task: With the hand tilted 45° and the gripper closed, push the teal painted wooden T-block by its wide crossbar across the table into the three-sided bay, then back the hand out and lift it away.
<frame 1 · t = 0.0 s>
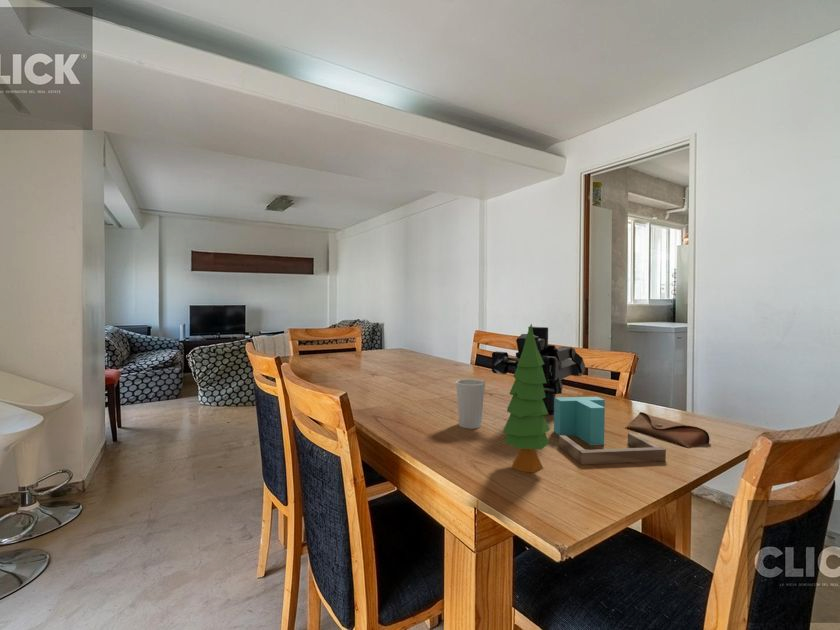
hand: (510, 369, 103), 17 cm above the table, tool horizontal, fingers open, 9 cm apart
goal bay: (602, 448, 92), on the table
cup: (470, 425, 110), on the table
decorative tree: (523, 466, 83), on the table
sunglasses case: (663, 437, 102), on the table
t block: (585, 437, 100), on the table
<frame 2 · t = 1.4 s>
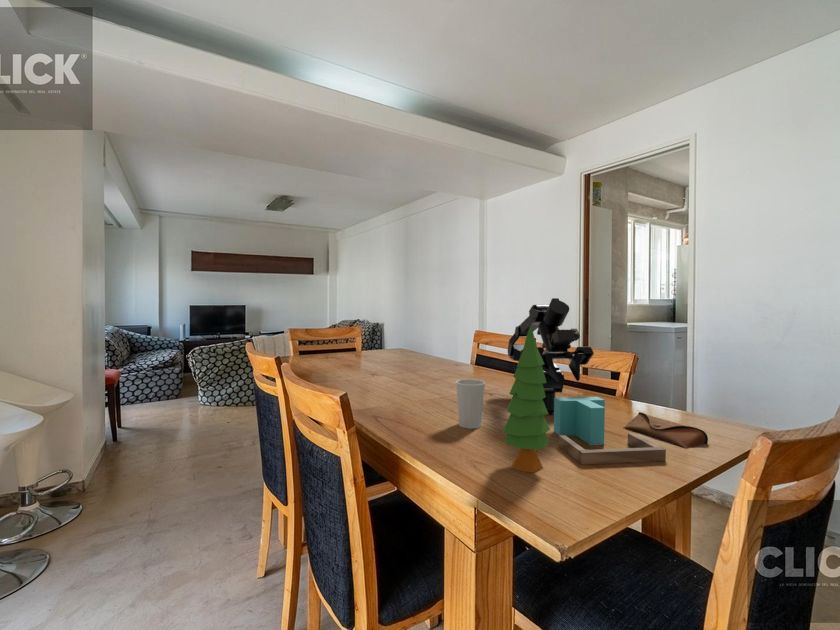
hand: (568, 380, 109), 13 cm above the table, tool tilted 45°, fingers open, 6 cm apart
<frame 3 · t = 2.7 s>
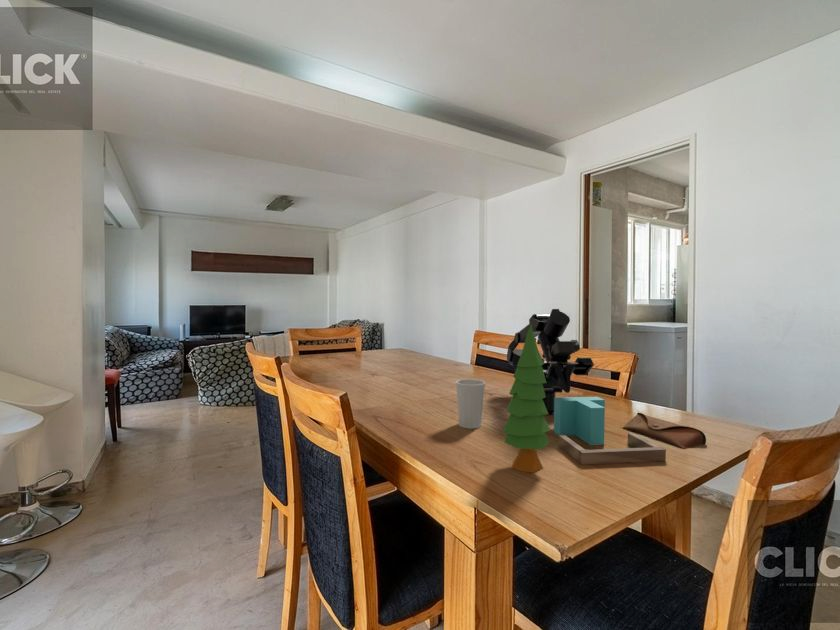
hand: (568, 392, 109), 9 cm above the table, tool tilted 45°, fingers closed
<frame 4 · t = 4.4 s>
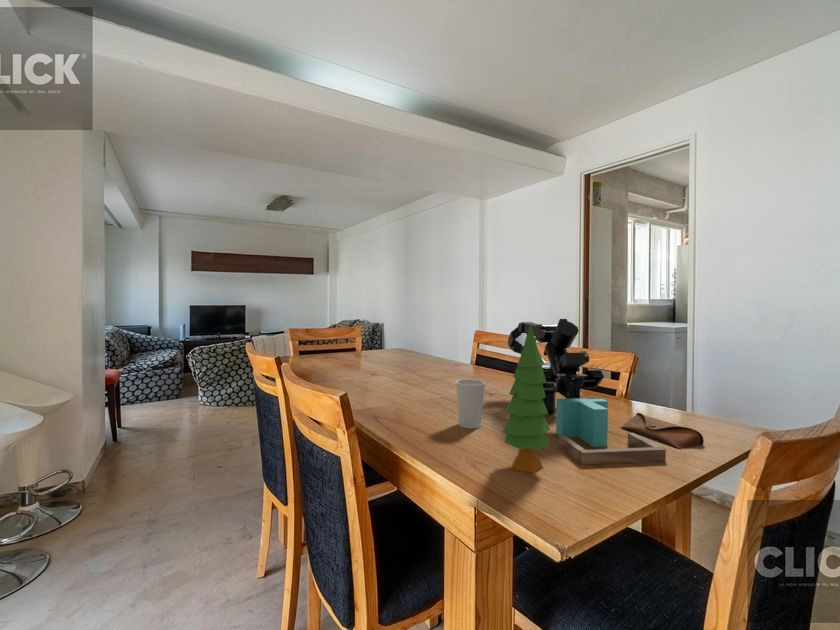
hand: (577, 406, 104), 7 cm above the table, tool tilted 45°, fingers closed
t block: (588, 439, 99), on the table
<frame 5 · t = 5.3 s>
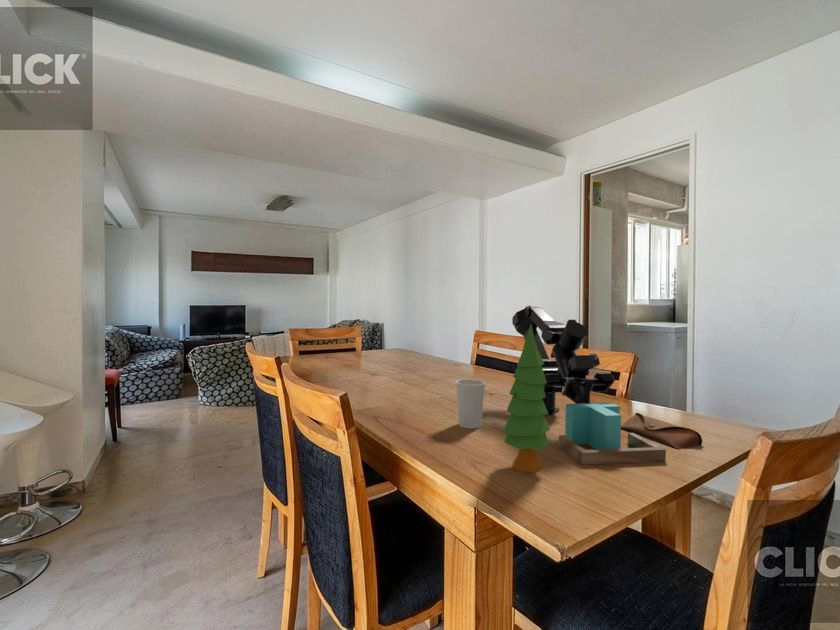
hand: (587, 411, 99), 7 cm above the table, tool tilted 45°, fingers closed, pressing on t block
t block: (599, 446, 94), on the table, touching gripper
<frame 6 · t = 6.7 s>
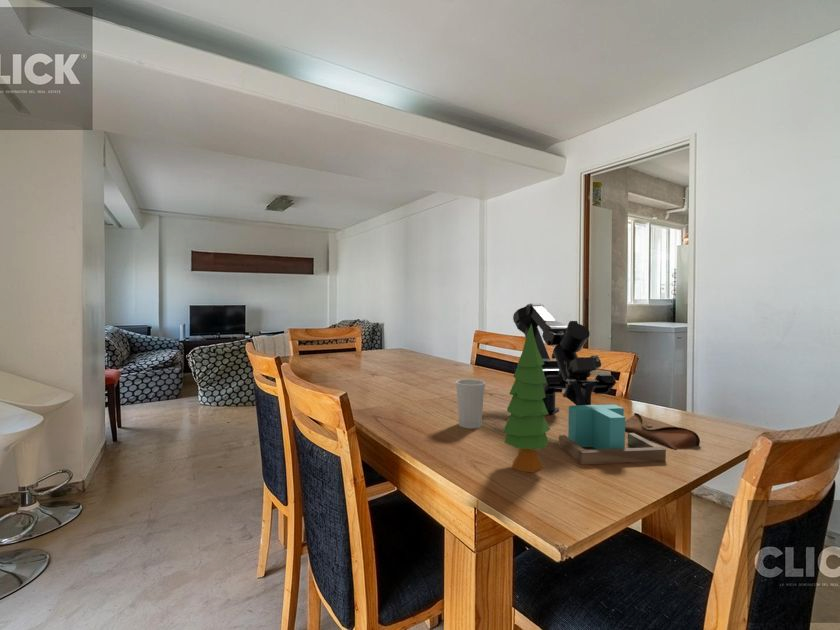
hand: (588, 413, 98), 6 cm above the table, tool tilted 45°, fingers closed
t block: (603, 449, 92), on the table
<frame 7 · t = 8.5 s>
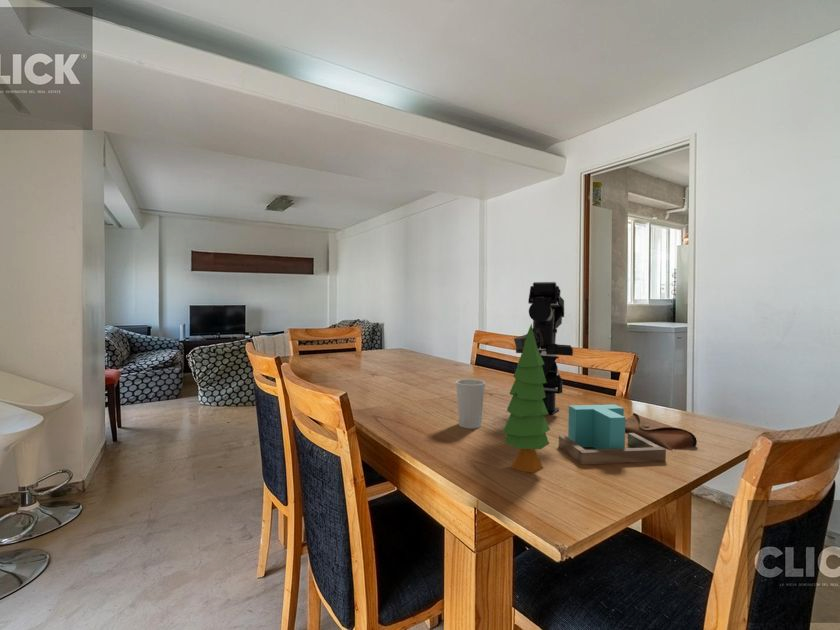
hand: (541, 380, 111), 12 cm above the table, tool pointing down, fingers closed
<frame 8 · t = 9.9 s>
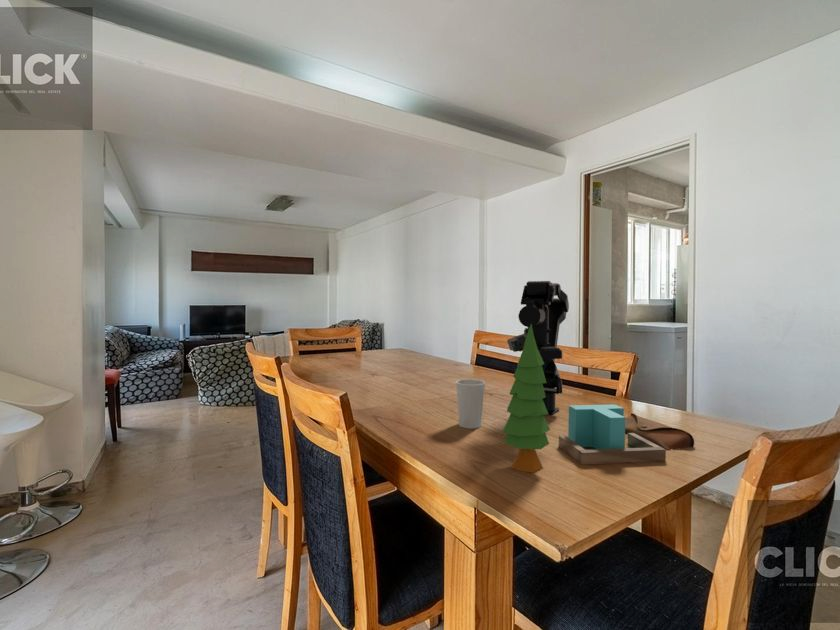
hand: (537, 379, 113), 12 cm above the table, tool pointing down, fingers closed
at the end: t block 0.4 cm off-centre on the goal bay, point 0.0 cm above the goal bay's base; t block tilted 0°; t block moved 7.9 cm from its start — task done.
